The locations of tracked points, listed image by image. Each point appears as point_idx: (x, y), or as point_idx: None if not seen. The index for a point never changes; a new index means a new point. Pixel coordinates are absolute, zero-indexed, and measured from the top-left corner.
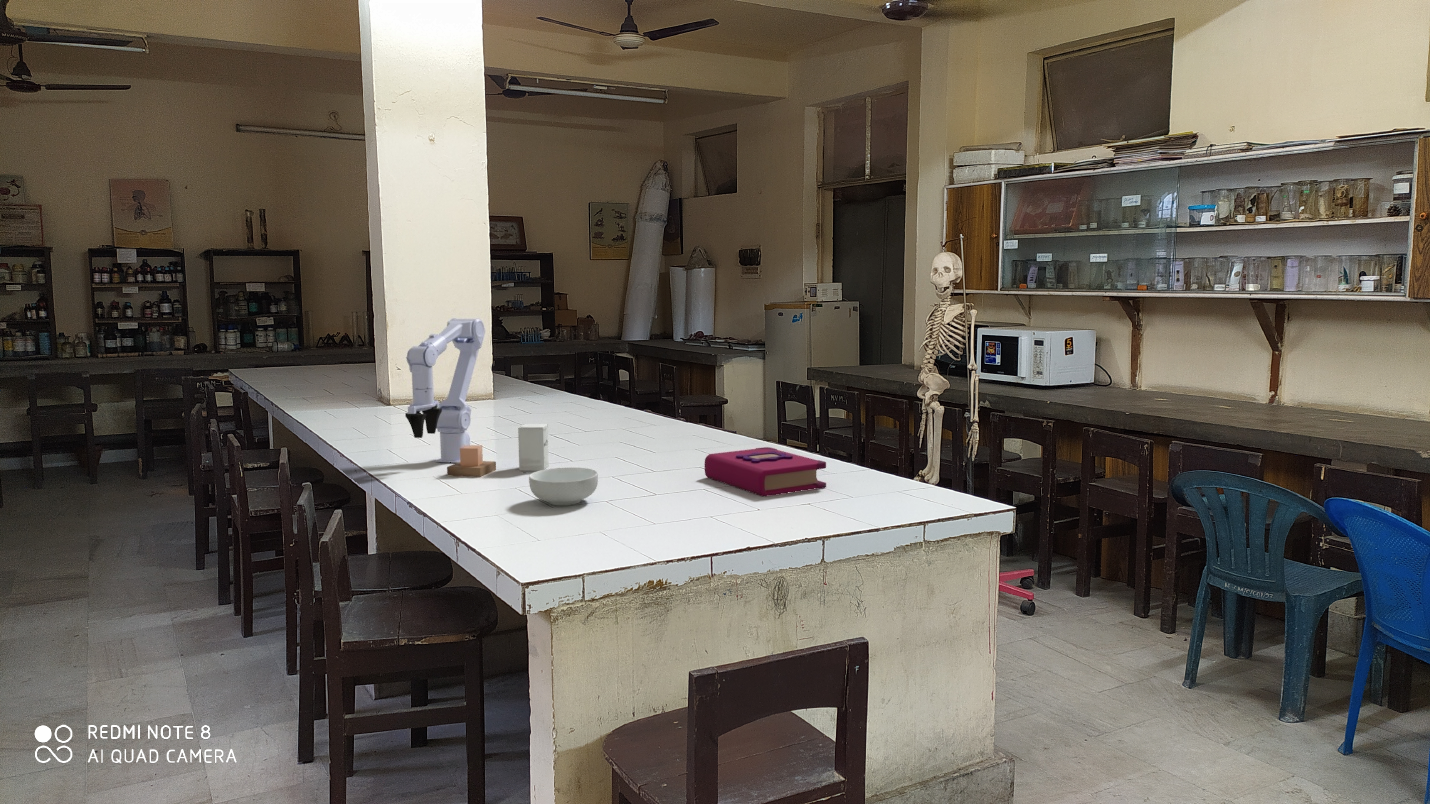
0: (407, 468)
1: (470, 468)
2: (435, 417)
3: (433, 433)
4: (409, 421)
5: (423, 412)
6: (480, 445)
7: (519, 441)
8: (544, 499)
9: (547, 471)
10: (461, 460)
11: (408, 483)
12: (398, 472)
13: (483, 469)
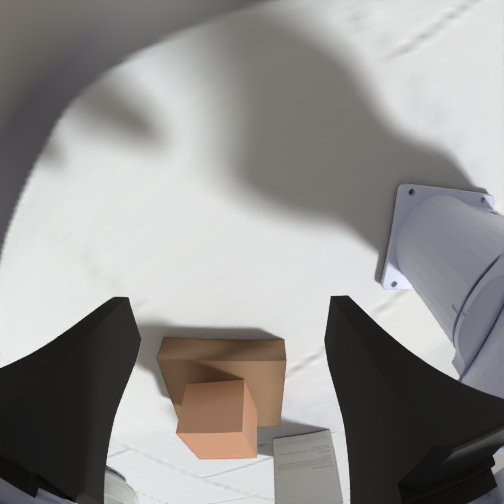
0: (249, 120)
1: (174, 405)
2: (350, 458)
3: (325, 337)
4: (11, 371)
5: (413, 437)
6: (252, 456)
7: (275, 498)
8: None
9: (107, 493)
10: (184, 400)
11: (39, 278)
12: (154, 134)
13: None
